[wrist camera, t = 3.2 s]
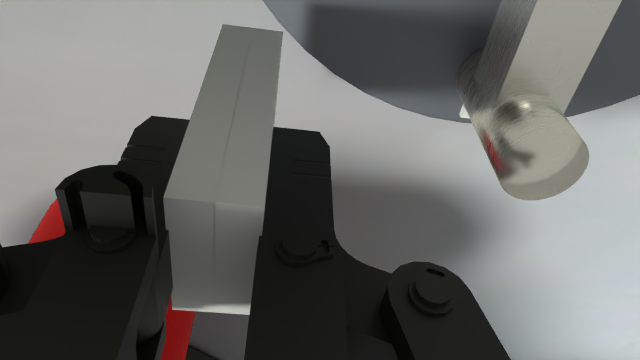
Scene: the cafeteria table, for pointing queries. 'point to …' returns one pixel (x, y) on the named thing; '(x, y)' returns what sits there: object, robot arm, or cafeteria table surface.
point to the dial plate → (440, 49)
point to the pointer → (533, 91)
